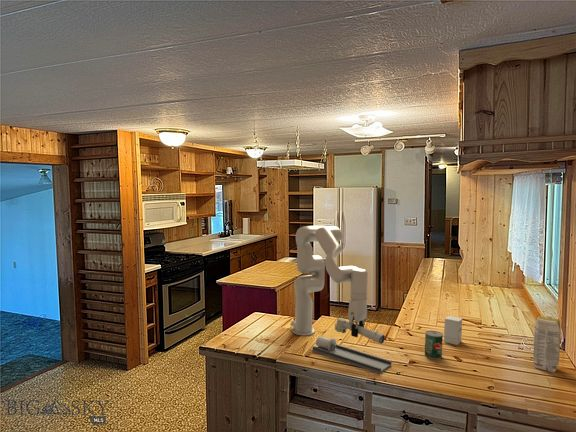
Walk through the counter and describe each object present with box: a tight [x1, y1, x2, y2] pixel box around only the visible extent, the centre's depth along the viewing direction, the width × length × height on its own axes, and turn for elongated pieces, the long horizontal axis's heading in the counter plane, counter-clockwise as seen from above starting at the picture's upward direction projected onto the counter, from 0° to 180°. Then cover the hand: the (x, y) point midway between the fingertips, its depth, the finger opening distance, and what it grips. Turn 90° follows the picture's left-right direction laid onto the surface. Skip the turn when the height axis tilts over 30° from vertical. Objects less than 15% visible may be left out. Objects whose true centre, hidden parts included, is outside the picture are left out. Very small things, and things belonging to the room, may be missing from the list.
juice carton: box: [532, 314, 562, 373], centre depth 174 cm, size 9×8×24 cm
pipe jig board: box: [312, 335, 392, 375], centre depth 181 cm, size 36×11×7 cm, turn 50°
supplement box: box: [443, 315, 463, 346], centre depth 205 cm, size 7×7×13 cm
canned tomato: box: [424, 330, 444, 360], centre depth 186 cm, size 8×8×11 cm
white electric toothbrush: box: [334, 317, 386, 345], centre depth 178 cm, size 5×7×25 cm
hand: (357, 334), depth 178 cm, fingers closed on white electric toothbrush, 4 cm apart
